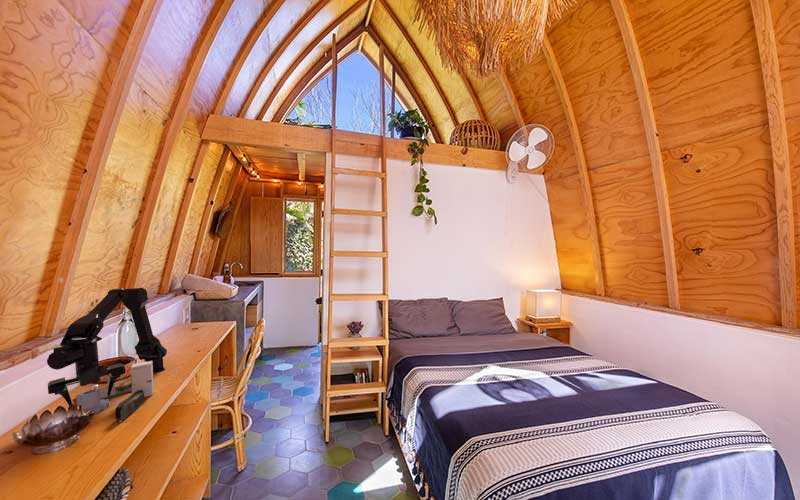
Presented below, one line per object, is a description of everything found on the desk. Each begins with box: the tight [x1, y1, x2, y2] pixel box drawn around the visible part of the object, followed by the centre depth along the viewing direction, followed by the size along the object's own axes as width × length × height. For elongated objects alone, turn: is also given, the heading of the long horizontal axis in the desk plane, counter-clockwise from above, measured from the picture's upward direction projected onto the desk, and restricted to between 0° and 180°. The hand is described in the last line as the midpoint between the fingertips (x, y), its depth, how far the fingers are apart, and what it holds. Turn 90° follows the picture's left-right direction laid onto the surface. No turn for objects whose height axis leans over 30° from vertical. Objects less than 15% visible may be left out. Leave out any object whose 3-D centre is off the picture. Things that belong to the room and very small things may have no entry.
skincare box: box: [130, 361, 155, 398], centre depth 117 cm, size 6×4×12 cm
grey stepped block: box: [79, 388, 111, 414], centre depth 108 cm, size 9×9×6 cm
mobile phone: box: [114, 390, 145, 424], centre depth 106 cm, size 5×3×15 cm
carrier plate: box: [75, 378, 132, 407], centre depth 121 cm, size 18×12×4 cm, turn 139°
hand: (90, 401), depth 108 cm, fingers open, 9 cm apart
